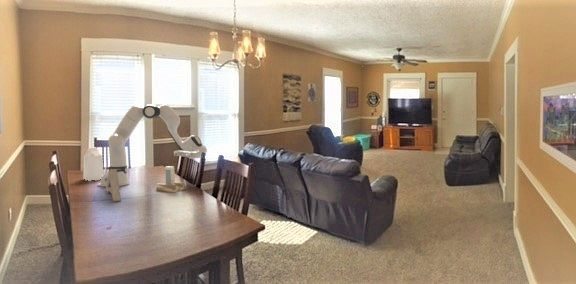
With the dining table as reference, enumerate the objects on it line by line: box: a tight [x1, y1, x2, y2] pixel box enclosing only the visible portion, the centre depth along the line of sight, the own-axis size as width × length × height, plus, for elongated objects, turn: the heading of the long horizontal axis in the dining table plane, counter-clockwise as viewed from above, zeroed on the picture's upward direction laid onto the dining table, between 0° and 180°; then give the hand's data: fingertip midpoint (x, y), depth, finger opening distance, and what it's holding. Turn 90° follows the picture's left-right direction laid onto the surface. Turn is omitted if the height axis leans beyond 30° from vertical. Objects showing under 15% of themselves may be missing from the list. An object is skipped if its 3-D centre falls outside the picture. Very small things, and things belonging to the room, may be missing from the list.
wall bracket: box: [105, 169, 122, 203], centre depth 269 cm, size 22×4×30 cm
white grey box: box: [164, 165, 176, 185], centre depth 288 cm, size 4×6×15 cm
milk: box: [82, 146, 105, 182], centre depth 326 cm, size 12×12×26 cm
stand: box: [155, 181, 185, 193], centre depth 288 cm, size 11×16×4 cm
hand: (180, 154), depth 297 cm, fingers open, 8 cm apart
